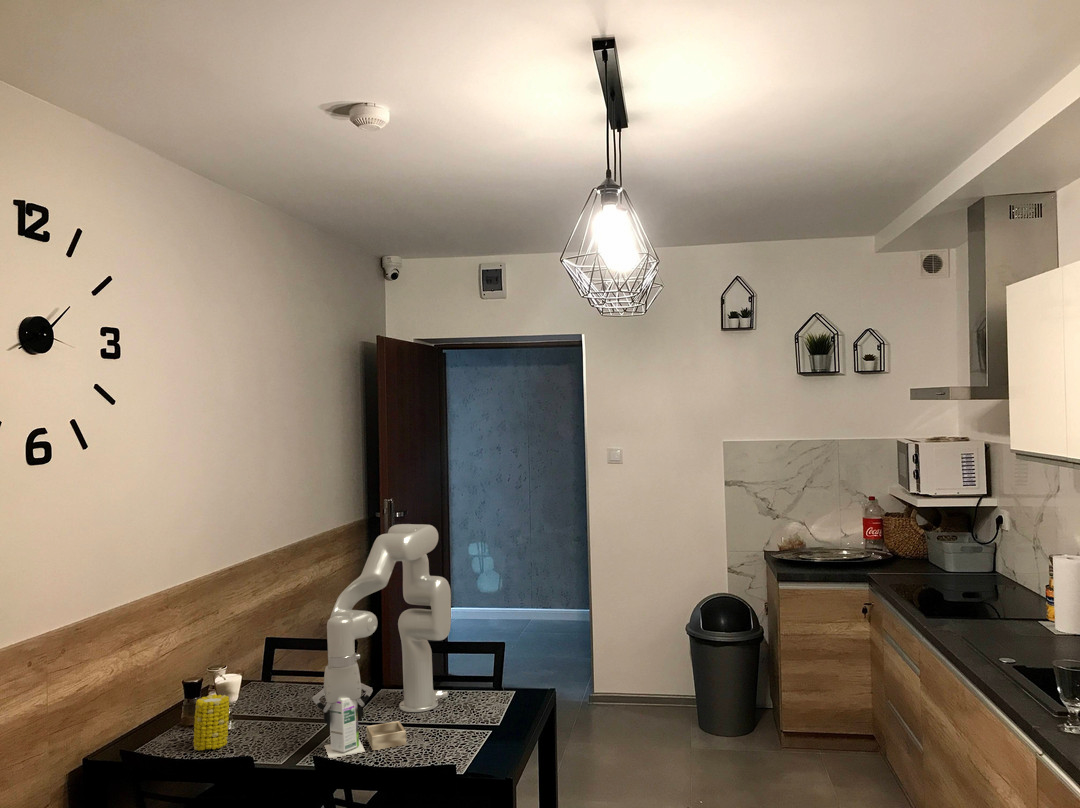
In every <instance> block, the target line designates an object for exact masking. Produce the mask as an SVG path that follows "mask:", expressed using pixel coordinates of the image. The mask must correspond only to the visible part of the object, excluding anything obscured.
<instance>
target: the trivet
mask: <svg viewBox="0 0 1080 808" xmlns="http://www.w3.org/2000/svg"><path fill="white" fill-rule="evenodd" d="M324 747H325V748H324ZM323 748H324V750H325V749H326V751H325V753H326V752H327V753H326V756H327V755H328V756H327V758H333V759H332V760H335V759H338V758H337V757H341V758H343V757H342V756H346V755H352V754H357V753H362V752H365V753H366V750H365V748H364V746H363V743H362V742H361V740H360V739H359V747H356V748H353V749H350V750H348V751H346V752H340V751H335V750H332V749H331V743H330V744H324V746H323ZM352 756H353V755H352Z"/></svg>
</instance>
